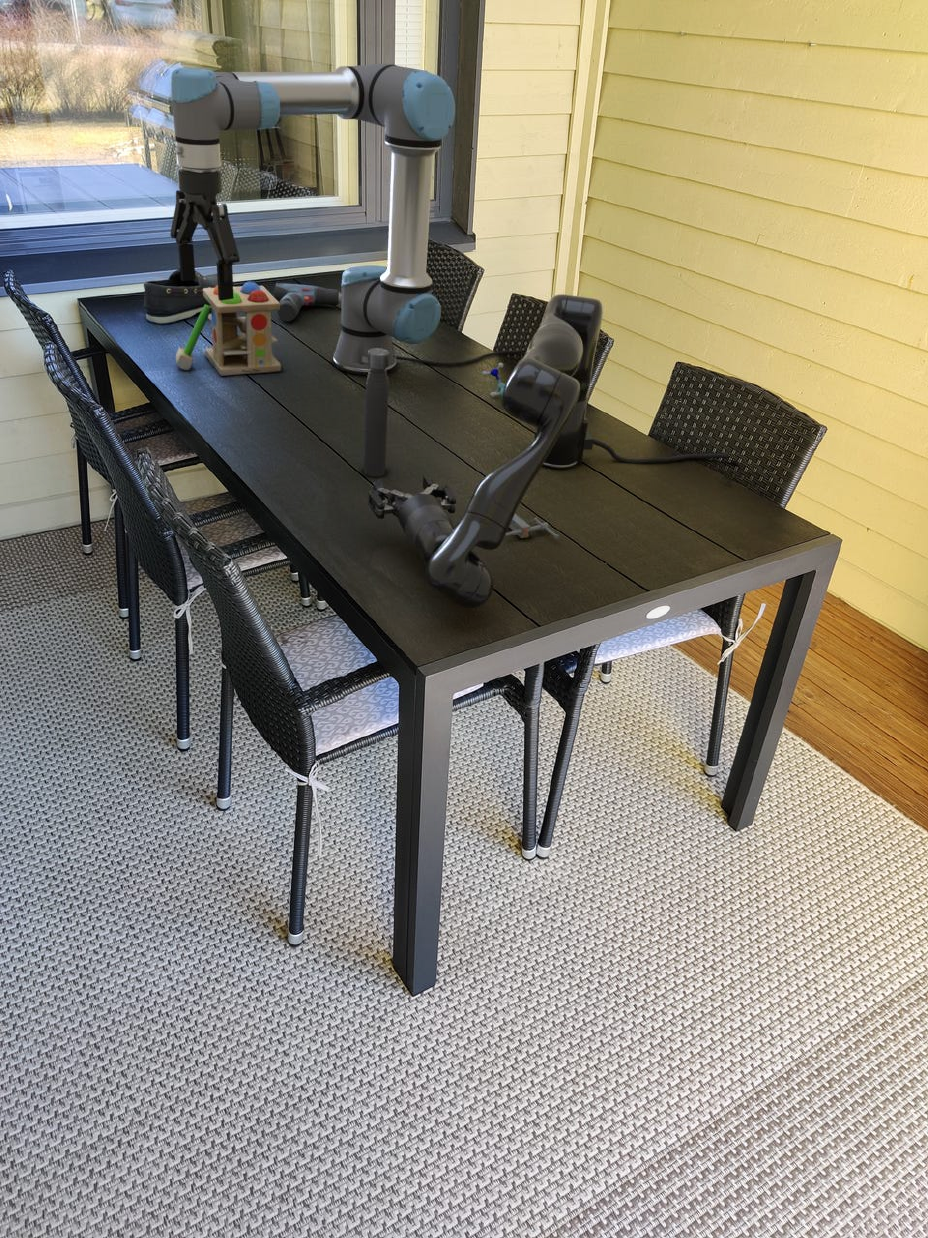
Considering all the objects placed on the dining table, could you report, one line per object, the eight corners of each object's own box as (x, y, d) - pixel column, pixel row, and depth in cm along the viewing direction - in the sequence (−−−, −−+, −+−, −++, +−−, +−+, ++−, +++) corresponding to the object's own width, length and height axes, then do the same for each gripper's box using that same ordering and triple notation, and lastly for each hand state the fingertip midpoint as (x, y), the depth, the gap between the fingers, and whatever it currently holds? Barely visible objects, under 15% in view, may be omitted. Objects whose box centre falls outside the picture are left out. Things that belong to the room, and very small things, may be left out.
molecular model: (528, 399, 218) (514, 355, 217) (489, 413, 222) (475, 370, 221) (541, 397, 229) (527, 355, 228) (504, 410, 233) (491, 369, 231)
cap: (391, 364, 180) (392, 350, 178) (384, 370, 176) (384, 356, 175) (372, 360, 180) (372, 346, 179) (364, 366, 177) (364, 352, 176)
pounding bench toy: (183, 379, 220) (176, 299, 210) (169, 357, 231) (162, 280, 221) (282, 371, 230) (280, 294, 220) (264, 350, 240) (262, 276, 230)
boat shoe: (253, 302, 272) (251, 263, 267) (163, 325, 248) (159, 283, 243) (219, 293, 278) (216, 255, 272) (128, 316, 254) (123, 274, 248)
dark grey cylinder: (387, 470, 192) (393, 352, 178) (380, 478, 188) (385, 359, 175) (368, 466, 192) (372, 348, 179) (360, 474, 189) (363, 355, 176)
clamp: (469, 503, 178) (515, 494, 182) (468, 513, 179) (514, 504, 184) (513, 542, 167) (561, 531, 172) (512, 553, 169) (559, 542, 173)
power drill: (335, 306, 256) (344, 285, 273) (264, 300, 255) (277, 279, 272) (335, 327, 259) (344, 304, 276) (264, 320, 258) (277, 299, 275)
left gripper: (145, 155, 179) (155, 274, 191) (217, 183, 164) (224, 310, 176) (182, 153, 183) (190, 269, 195) (256, 180, 169) (260, 304, 181)
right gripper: (471, 502, 159) (441, 460, 172) (386, 508, 155) (362, 465, 167) (467, 542, 163) (438, 498, 176) (384, 550, 159) (360, 504, 172)
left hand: (206, 289), depth 186 cm, fingers open, 13 cm apart
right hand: (401, 482), depth 172 cm, fingers open, 8 cm apart
